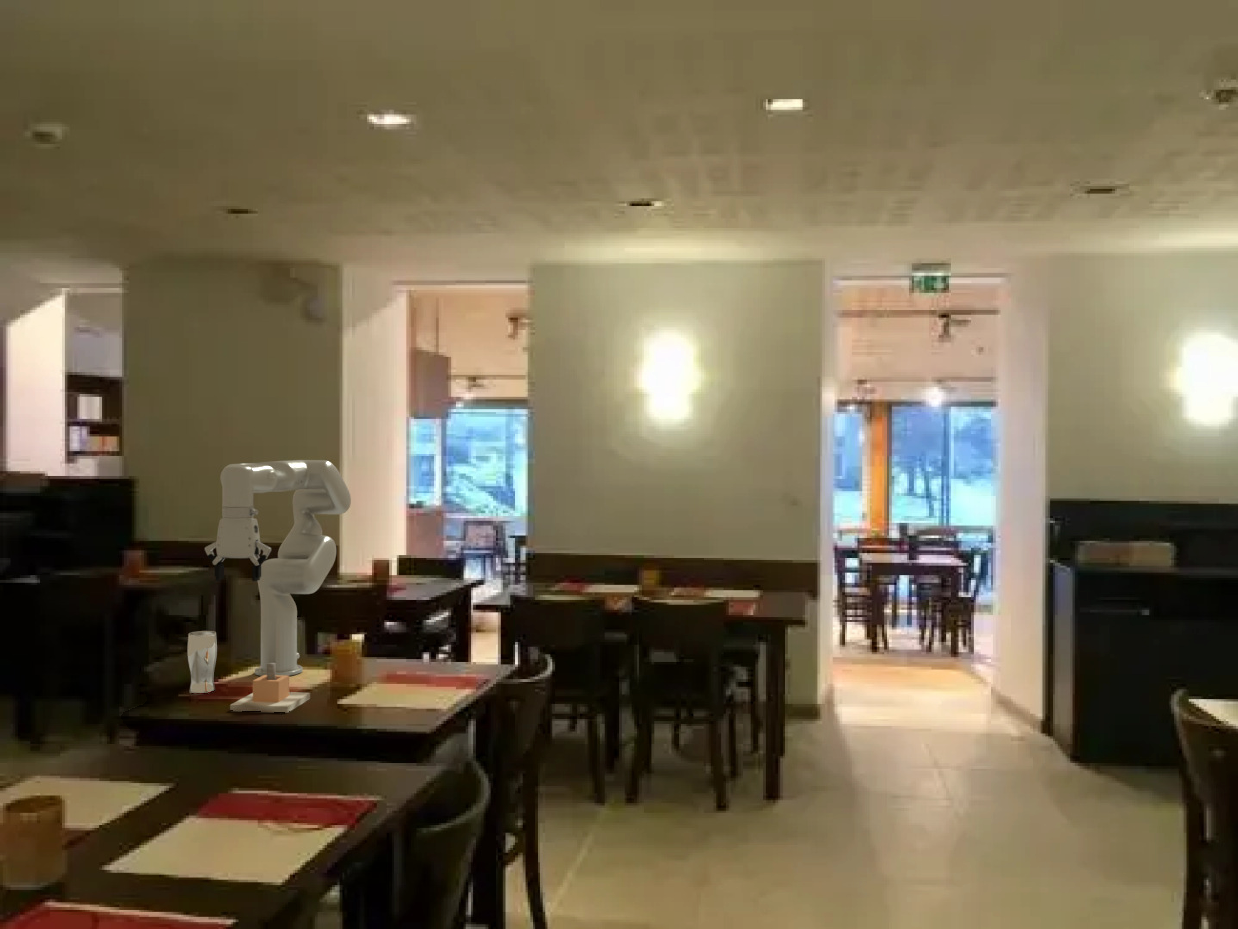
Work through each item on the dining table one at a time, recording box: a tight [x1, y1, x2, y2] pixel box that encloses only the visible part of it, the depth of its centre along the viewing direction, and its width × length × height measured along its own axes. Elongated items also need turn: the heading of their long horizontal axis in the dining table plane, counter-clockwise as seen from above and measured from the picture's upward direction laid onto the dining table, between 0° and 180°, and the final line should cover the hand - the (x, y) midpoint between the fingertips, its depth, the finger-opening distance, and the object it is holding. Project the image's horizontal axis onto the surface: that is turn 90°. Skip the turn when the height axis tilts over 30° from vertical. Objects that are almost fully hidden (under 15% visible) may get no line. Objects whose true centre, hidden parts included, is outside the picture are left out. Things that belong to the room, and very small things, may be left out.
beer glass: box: [187, 630, 218, 694], centre depth 268 cm, size 7×7×15 cm
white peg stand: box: [229, 663, 311, 714], centre depth 255 cm, size 14×14×10 cm
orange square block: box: [252, 675, 290, 702], centre depth 255 cm, size 6×6×5 cm
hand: (237, 580), depth 270 cm, fingers open, 9 cm apart
